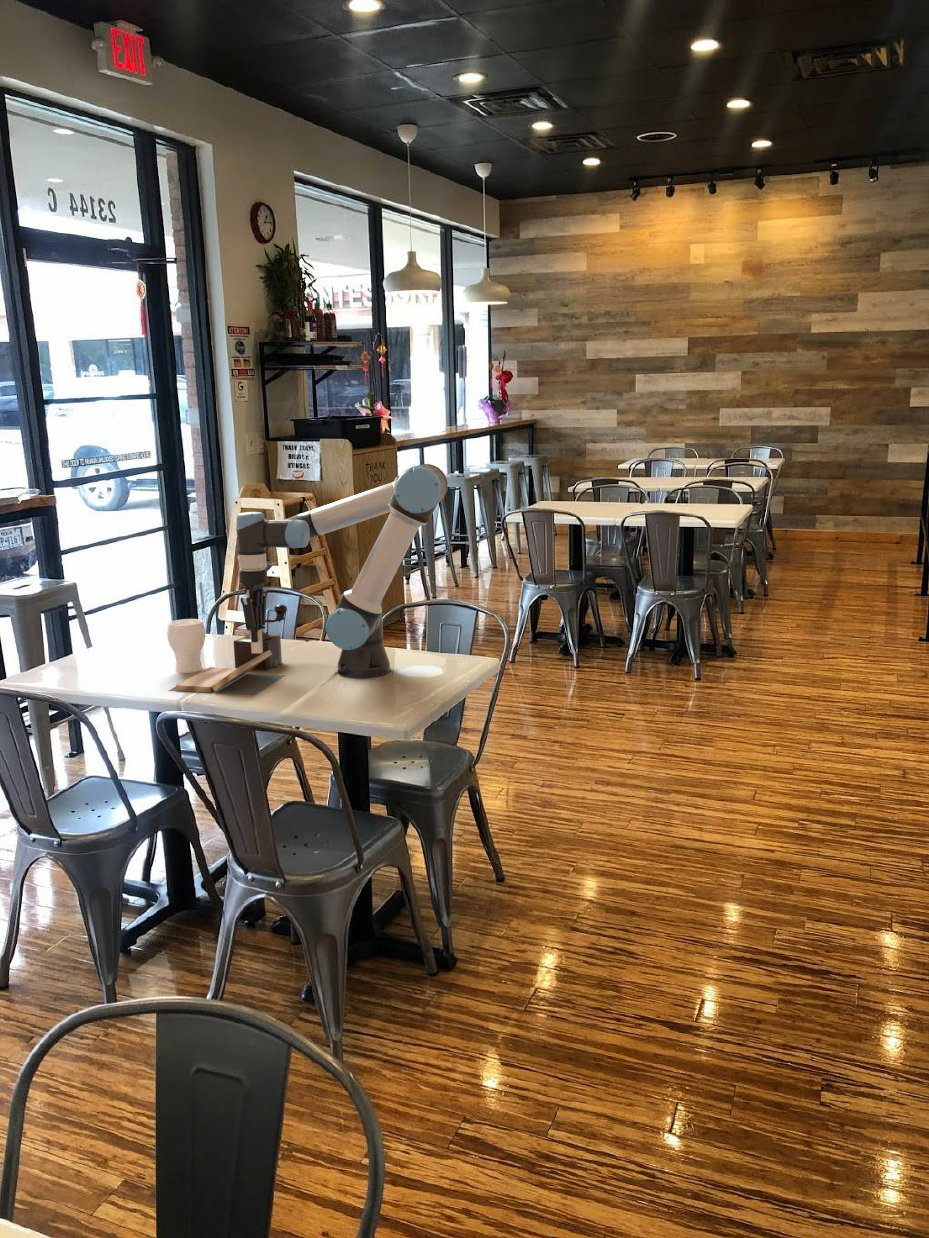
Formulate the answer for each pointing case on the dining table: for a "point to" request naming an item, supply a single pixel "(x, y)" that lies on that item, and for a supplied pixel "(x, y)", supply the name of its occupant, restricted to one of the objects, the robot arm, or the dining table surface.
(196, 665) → the cup
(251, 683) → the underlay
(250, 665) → the plank
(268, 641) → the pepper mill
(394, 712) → the dining table surface
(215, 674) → the plank
